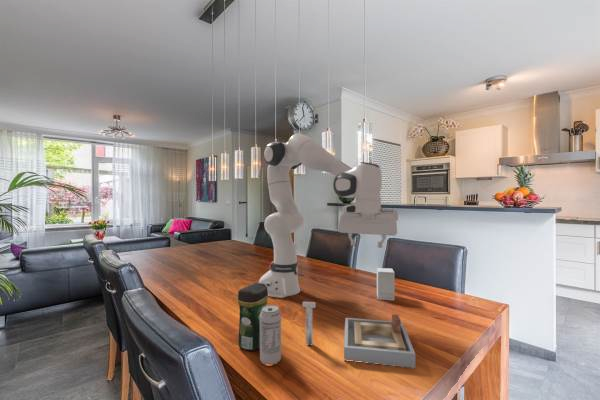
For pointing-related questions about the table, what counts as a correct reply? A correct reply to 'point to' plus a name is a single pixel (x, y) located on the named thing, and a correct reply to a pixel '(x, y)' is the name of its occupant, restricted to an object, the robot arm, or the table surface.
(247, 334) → the coffee jar
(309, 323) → the rod
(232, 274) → the table surface
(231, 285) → the table surface
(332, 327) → the table surface
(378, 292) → the supplement box
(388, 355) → the tray
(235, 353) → the table surface
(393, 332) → the ring
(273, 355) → the energy drink can
